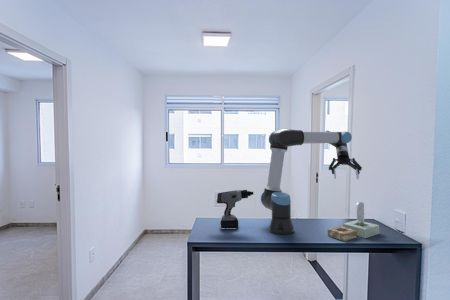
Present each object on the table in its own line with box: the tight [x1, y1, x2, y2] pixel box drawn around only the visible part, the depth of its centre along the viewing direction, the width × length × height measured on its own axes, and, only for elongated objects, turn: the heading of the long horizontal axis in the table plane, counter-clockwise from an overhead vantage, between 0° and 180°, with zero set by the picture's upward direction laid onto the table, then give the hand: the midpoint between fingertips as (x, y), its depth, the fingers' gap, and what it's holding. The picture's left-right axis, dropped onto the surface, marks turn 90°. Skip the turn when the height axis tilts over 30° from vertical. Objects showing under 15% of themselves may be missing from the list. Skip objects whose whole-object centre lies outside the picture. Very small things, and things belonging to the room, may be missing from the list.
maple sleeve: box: [327, 225, 358, 242], centre depth 158 cm, size 11×11×4 cm
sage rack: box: [342, 219, 380, 239], centre depth 164 cm, size 14×14×5 cm
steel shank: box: [356, 201, 365, 227], centre depth 164 cm, size 4×4×18 cm
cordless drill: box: [216, 189, 254, 229], centre depth 179 cm, size 8×24×25 cm, turn 89°
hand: (346, 177), depth 176 cm, fingers open, 13 cm apart
